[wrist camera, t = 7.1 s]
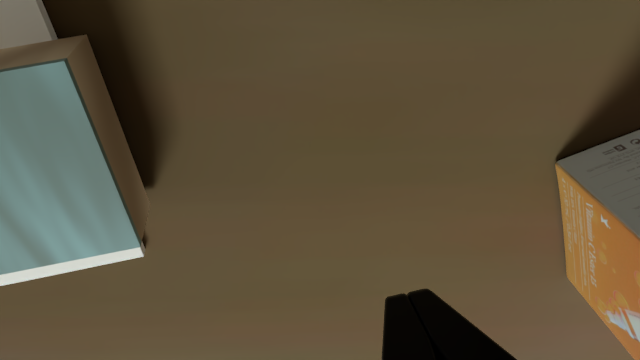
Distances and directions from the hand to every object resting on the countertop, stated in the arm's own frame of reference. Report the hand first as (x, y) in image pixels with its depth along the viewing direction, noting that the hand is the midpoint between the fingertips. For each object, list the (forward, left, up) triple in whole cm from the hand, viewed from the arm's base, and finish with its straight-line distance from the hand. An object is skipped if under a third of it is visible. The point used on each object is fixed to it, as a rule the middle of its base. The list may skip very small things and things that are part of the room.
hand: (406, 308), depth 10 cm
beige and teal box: (+7, 0, -10) cm, 13 cm away
